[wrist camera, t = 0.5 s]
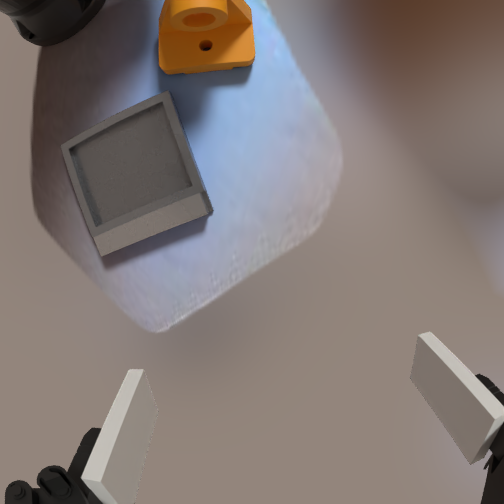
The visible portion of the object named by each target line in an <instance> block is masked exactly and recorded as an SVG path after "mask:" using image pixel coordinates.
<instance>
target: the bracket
mask: <svg viewBox="0 0 504 504" xmlns="http://www.w3.org/2000/svg"><path fill="white" fill-rule="evenodd" d="M205 48H211V49H210V50H208V51H202V50H203V49H205ZM254 59H255V46H254V35H253V25H252V14H251V8H250V7H249V6H248V5H247V4H246V2H245V1H244V0H165V2H164V5H163V8H162V11H161V14H160V17H159V66H160V68H161V69H162V70H163V71H164V73H166V74H169V75H171V74H178V73H185V74H192V73H200V72H208V71H218V70H229V69H233V67H242V66H249V65H251V64H252V63H253V62H254Z"/></svg>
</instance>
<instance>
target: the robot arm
mask: <svg viewBox="0 0 504 504" xmlns="http://www.w3.org/2000/svg"><path fill="white" fill-rule="evenodd" d="M104 2H105V0H0V11H1V12H3V13H5V14H7V15H8V16H9V17H10V18H11V20H12V22H13V23H14V25H15V27H16V28H17V30H18V32H19V33H20V35H21V36H22V37H23V38H24V39H26V40H27V41H29V42H31V43H33V44H35V45H39V46H48V45H53V44H56V43H59V42H61V41H63V40H65V39H67V38H69V37H71V36H72V35H74V34H75V33H77V32H78V31H79V30H80V29H82V28H83V27H84V26H85V25H86V24H87V23H88V22H89V21H90V20H91V19H92V18H93V17H94V16H95V15H96V14H97V12H98V11H99V10H100V8H101V7H102V5H103V3H104ZM410 379H411V380H412V382H413V383H414V384H415V386H416V387H417V389H418V390H419V391H420V393H421V394H422V395H423V397H424V398H425V400H426V401H427V402H428V404H429V405H430V407H431V408H432V409H433V411H434V412H435V414H436V415H437V416H438V418H439V419H440V421H441V422H442V423H443V425H444V427H445V428H446V429H447V431H448V432H449V434H450V435H451V437H452V438H453V440H454V441H455V443H456V444H457V446H458V447H459V449H460V450H461V452H462V453H463V455H464V456H465V458H466V459H467V461H468V462H469V464H470V465H471V464H473V463H475V462H477V461H479V460H480V459H482V458H484V457H485V455H486V453H487V452H488V450H489V449H490V450H491V451H492V455H491V457H490V458H489V460H488V461H487V463H486V465H485V467H484V469H486V468H487V466H488V465H489V468H488V473H487V478H486V483H485V487H484V492H483V496H482V500H481V504H504V394H503V393H502V392H500V390H499V389H498V388H497V386H495V385H494V383H493V382H491V381H490V380H489V378H487V377H485V376H483V375H480V374H477V375H474V374H473V373H472V372H471V371H470V370H469V369H468V368H467V367H466V366H464V364H463V363H462V362H461V361H460V360H459V359H458V358H457V357H456V356H455V355H454V354H452V352H451V351H450V350H449V349H448V348H446V346H445V345H444V344H443V343H442V342H440V340H439V339H438V338H436V337H435V336H434V335H433V334H432V333H431V332H427V333H423V334H420V335H418V339H417V344H416V351H415V356H414V362H413V366H412V371H411V376H410ZM158 412H159V411H158V408H157V406H156V403H155V400H154V397H153V394H152V392H151V389H150V386H149V383H148V380H147V377H146V374H145V371H144V369H129V371H128V373H127V375H126V377H125V379H124V381H123V383H122V385H121V388H120V390H119V392H118V394H117V396H116V399H115V401H114V403H113V405H112V407H111V409H110V412H109V414H108V416H107V418H106V420H105V423H104V425H103V427H102V429H101V428H91V429H90V430H89V431H88V432H87V433H86V434H85V435H84V437H83V439H82V441H81V443H80V446H79V447H78V450H77V453H76V454H75V456H74V458H73V460H72V463H71V465H70V467H69V469H68V472H66V470H65V469H64V468H62V467H60V466H55V465H53V466H48V467H46V468H44V469H42V470H41V472H40V473H39V474H38V477H37V484H38V485H39V487H40V488H31V486H30V485H29V484H28V483H27V482H25V481H20V480H17V481H14V482H12V483H11V484H9V485H8V487H7V488H6V492H5V504H135V500H136V496H137V492H138V487H139V484H140V480H141V475H142V472H143V468H144V464H145V460H146V456H147V453H148V448H149V445H150V441H151V438H152V434H153V430H154V427H155V423H156V419H157V416H158Z"/></svg>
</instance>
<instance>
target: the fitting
mask: <svg viewBox="0 0 504 504" xmlns="http://www.w3.org/2000/svg"><path fill="white" fill-rule="evenodd" d="M60 146H61V150H62V153H63V156H64V160H65V163H66V166H67V169H68V172H69V175H70V178H71V181H72V184H73V187H74V190H75V193H76V196H77V199H78V202H79V204H80V207H81V210H82V212H83V215H84V218H85V220H86V223H87V225H88V228H89V231H90V233H91V235H92V238H93V237H94V241H95V243H96V246H97V248H98V250H99V253H100V255H101V257H102V256H104V255H107V254H109V253H111V252H114V251H116V250H119V249H121V248H123V247H126V246H128V245H131V244H133V243H136V242H138V241H141V240H143V239H145V238H148V237H150V236H153V235H155V234H158V233H161V232H163V231H166V230H168V229H171V228H173V227H176V226H178V225H181V224H184V223H186V222H189V221H191V220H194V219H197V218H199V217H202V216H205V215H207V214H208V213H209V212H211V211H213V207H212V204H211V202H210V199H209V196H208V194H207V191H206V188H205V186H204V183H203V180H202V178H201V175H200V172H199V169H198V167H197V164H196V161H195V159H194V156H193V153H192V150H191V148H190V145H189V142H188V139H187V137H186V134H185V131H184V128H183V126H182V123H181V120H180V117H179V114H178V112H177V109H176V106H175V103H174V100H173V98H172V95H171V93H170V92H169V91H168V90H167V91H165V92H163V93H160V94H158V95H156V96H153V97H151V98H149V99H147V100H145V101H142V102H140V103H138V104H136V105H134V106H132V107H130V108H127V109H125V110H123V111H121V112H119V113H117V114H115V115H113V116H111V117H110V118H108V119H106V120H104V121H102V122H100V123H98V124H96V125H94V126H93V127H91V128H89V129H87V130H85V131H84V132H82V133H80V134H78V135H77V136H75V137H73V138H72V139H70V140H68V141H67V142H65V143H63V144H62V145H60Z"/></svg>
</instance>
